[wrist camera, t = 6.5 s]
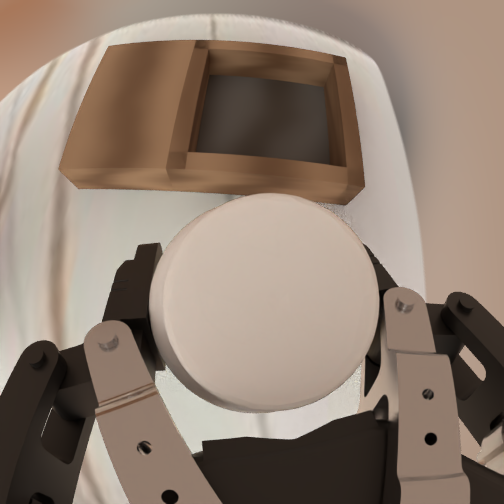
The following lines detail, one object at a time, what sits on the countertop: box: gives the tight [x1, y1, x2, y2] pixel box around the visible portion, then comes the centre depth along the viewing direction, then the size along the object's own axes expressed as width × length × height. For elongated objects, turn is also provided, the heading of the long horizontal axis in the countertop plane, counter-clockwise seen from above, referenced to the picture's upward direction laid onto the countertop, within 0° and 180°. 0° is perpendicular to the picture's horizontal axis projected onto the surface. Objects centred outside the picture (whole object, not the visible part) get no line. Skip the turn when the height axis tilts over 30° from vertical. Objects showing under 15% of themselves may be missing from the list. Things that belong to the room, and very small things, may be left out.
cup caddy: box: [59, 40, 365, 205], centre depth 20 cm, size 20×12×4 cm, turn 87°
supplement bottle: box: [149, 193, 379, 413], centre depth 10 cm, size 6×6×10 cm
